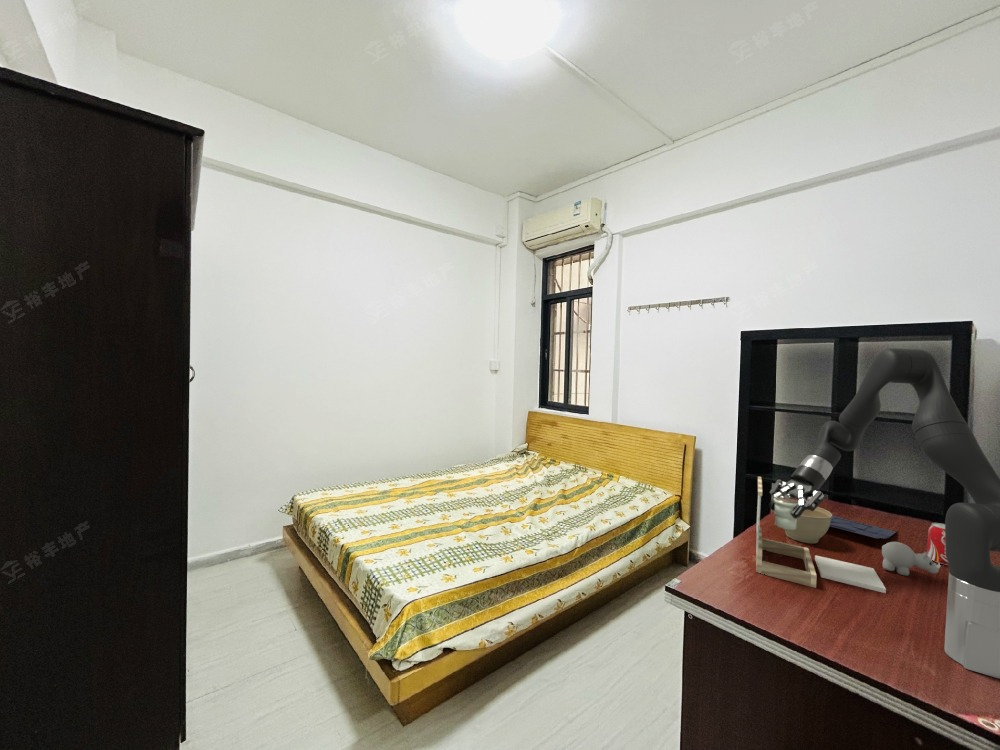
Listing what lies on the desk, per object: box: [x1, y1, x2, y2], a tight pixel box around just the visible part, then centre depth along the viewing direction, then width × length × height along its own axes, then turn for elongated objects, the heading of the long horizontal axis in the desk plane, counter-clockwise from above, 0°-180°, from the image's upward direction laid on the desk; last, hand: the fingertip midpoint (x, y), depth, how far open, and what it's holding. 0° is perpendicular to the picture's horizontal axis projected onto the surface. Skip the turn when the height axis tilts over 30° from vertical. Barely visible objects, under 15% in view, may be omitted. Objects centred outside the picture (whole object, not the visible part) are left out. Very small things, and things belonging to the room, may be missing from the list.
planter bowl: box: [782, 506, 833, 544], centre depth 145 cm, size 16×16×11 cm
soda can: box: [926, 522, 949, 565], centre depth 129 cm, size 7×7×12 cm
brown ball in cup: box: [773, 496, 799, 530], centre depth 123 cm, size 6×6×8 cm
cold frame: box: [755, 476, 818, 589], centre depth 124 cm, size 21×14×24 cm
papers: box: [829, 514, 897, 540], centre depth 155 cm, size 24×30×4 cm
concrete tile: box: [814, 555, 887, 594], centre depth 119 cm, size 14×14×1 cm
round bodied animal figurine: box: [881, 541, 942, 577], centre depth 121 cm, size 8×12×9 cm, turn 43°
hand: (782, 512), depth 123 cm, fingers closed on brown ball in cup, 6 cm apart
